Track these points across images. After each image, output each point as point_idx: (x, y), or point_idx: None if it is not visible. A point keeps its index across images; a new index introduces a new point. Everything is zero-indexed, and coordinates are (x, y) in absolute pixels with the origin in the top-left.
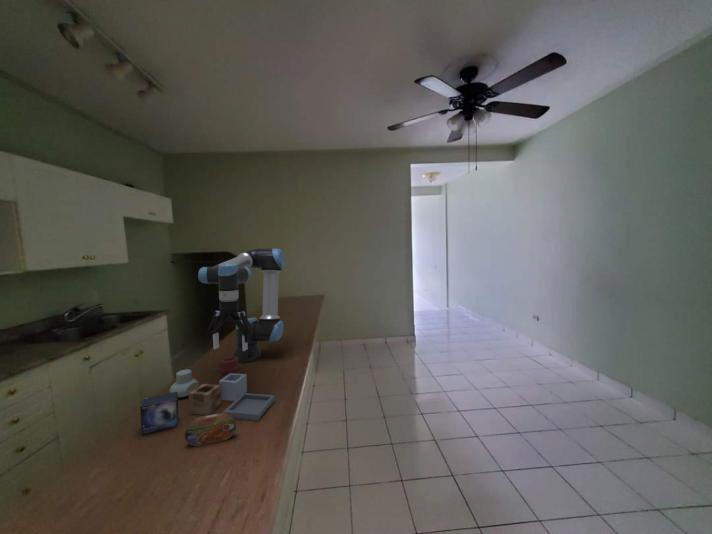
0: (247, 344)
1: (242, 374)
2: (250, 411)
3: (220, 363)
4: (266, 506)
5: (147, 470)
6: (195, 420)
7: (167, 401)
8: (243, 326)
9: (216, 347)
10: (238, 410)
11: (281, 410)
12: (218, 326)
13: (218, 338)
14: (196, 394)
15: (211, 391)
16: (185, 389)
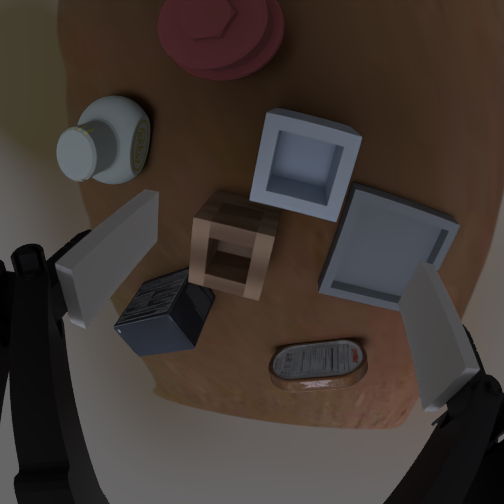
0: (444, 290)
1: (341, 135)
2: (389, 273)
3: (180, 62)
4: (404, 418)
5: (243, 379)
6: (286, 389)
7: (179, 350)
8: (459, 475)
9: (152, 227)
10: (355, 264)
11: (462, 265)
12: (79, 424)
13: (112, 234)
14: (216, 288)
15: (260, 281)
16: (130, 175)
